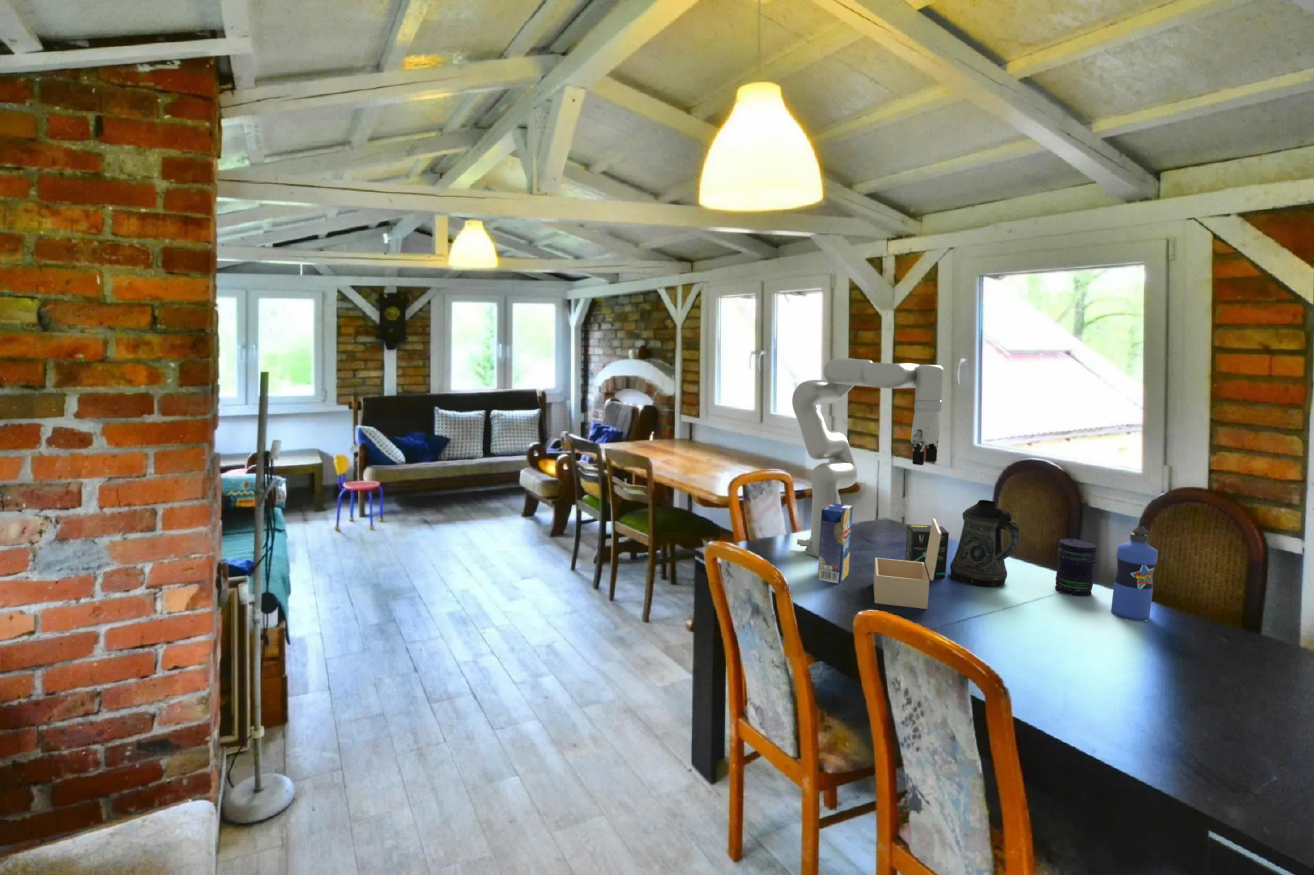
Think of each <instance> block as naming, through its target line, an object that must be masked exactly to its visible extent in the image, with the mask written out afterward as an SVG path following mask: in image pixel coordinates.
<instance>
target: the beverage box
mask: <svg viewBox="0 0 1314 875" xmlns="http://www.w3.org/2000/svg"><path fill="white" fill-rule="evenodd" d="M853 509H854V506H853V505H849V504H843V503H841V504H835V503H830V504H829V505H827V506H826V507H825V508H823V509H822V514H821V531H820V548H819V557H818V564H817V565H818V568H817V569H818V570H817V581H821V582H822V581H823V582H829V583H834V584H841V583H842V582H843V581H844V579H845V578H846V577H847V576H848V575H849V568H850V554H851V540H852V537H851V536H852V527H853V526H852V523H853Z"/></svg>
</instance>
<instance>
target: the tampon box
mask: <svg viewBox="0 0 1314 875" xmlns="http://www.w3.org/2000/svg"><path fill="white" fill-rule="evenodd" d="M931 525H932V524H931ZM931 525H930V524H907V527H906V528H907V529H906V541H905V543H906V544H905V556H904V557H905V558H904V561H914V562H924V564H925V567H926V563H925V559H926V553H927V548H928V542H929V536H930V530H931ZM938 526H939V529H940V531H941V539H940V544H939V550H938V556H937V561H936V567H935V572H934V578H946V572H947V561H948V559H947V558H948V549H949V538H950V532H949V531H948V530H946V529H945V527H944V526H942V525H938ZM926 571H927V574H928V570H927V567H926ZM928 577H929V574H928Z"/></svg>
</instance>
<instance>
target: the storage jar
mask: <svg viewBox="0 0 1314 875" xmlns="http://www.w3.org/2000/svg"><path fill="white" fill-rule="evenodd" d="M1097 547H1098V546H1097V544H1096V543H1094V542H1092V541H1087V540H1084V539H1078V538H1061V539H1060V540H1059V548H1058V554H1057V559H1058V563H1057V564H1058V565H1057V570H1056V575H1055V580H1054V581H1055V586H1054V590H1055V591H1057V592H1059V593H1061V594H1064V595H1067V596H1072V597H1079V598H1080V597H1081V598H1082V597H1083V598H1084V597H1085V598H1086V597H1090V596H1092V590H1093V586H1094V575H1093V574H1094V568H1095V566H1094V565H1095V564H1096V558H1097Z"/></svg>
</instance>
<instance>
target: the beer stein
mask: <svg viewBox="0 0 1314 875" xmlns="http://www.w3.org/2000/svg"><path fill="white" fill-rule="evenodd" d="M961 515H962V520H963V525H962V529H961V534H960V539H959V541H958V546H957V548H956V552H955V554H954V557H953V559H952V561H951V562H950V564H949V568H950V576H951V578H952V579H953V580H955V581H957V582H958V583H961V584H964V585H968V586H973V587H980V588H998V587H999V588H1000V587H1002V586H1004V585H1005V583H1006V580H1007V577H1008V570H1007V568H1006V563H1005V560H1006V559H1007V558H1009V557H1010V556H1011V555H1012V554H1013V553H1014V552H1016V550H1017V549H1018V547H1019V545H1020V543H1021V540H1022V539H1021V538H1022V537H1021V531H1020V527H1019V526H1018V525H1017V523H1016V522H1014V521H1012V515H1011V513H1010V512H1009V511H1008V510H1005V509H1001V508H1000V507H999V506H998V505H997V502H995V501H993V500H989V499H980V500H978V501H977V503H976V504H974V505H972V506H970V507H969V508H967V509H965V510H964V511H963V512H962V514H961ZM1003 530H1006V532H1008V533H1009V537H1010V541H1009V543H1008V544H1007V546H1006V547H1005V548H1004V538H1003V535H1004V534H1003Z"/></svg>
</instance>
